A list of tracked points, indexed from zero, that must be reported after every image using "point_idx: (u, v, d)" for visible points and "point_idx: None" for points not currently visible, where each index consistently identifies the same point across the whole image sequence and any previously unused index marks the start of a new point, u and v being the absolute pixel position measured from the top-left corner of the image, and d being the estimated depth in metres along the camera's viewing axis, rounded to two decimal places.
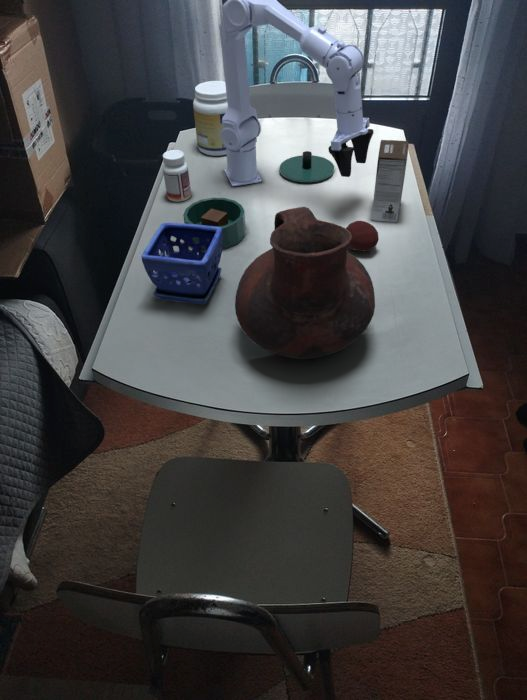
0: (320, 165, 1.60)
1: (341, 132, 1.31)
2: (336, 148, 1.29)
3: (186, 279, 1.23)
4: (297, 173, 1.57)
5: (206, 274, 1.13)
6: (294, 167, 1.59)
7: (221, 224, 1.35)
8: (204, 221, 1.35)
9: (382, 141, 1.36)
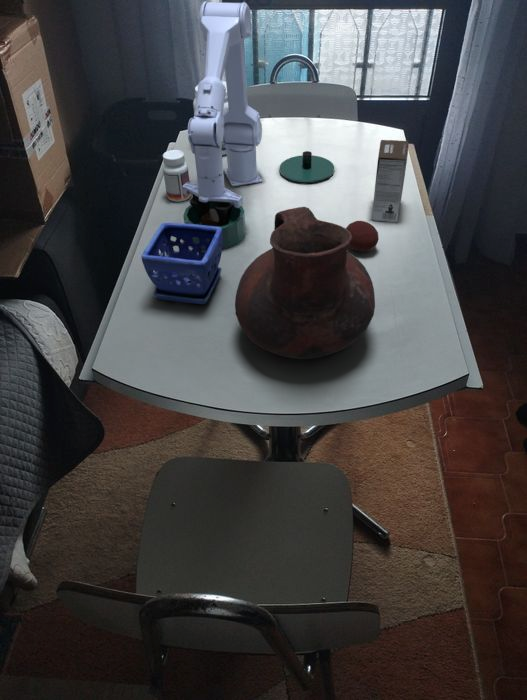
0: (320, 165, 1.60)
1: None
2: None
3: (186, 279, 1.23)
4: (297, 173, 1.57)
5: (206, 274, 1.13)
6: (294, 167, 1.59)
7: None
8: (204, 221, 1.35)
9: (382, 141, 1.36)
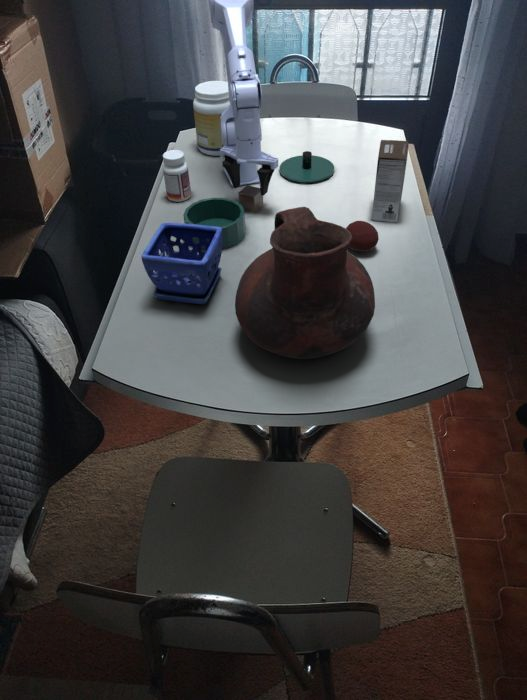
0: (320, 165, 1.60)
1: None
2: None
3: (186, 279, 1.23)
4: (297, 173, 1.57)
5: (206, 274, 1.13)
6: (294, 167, 1.59)
7: (257, 199, 1.44)
8: (241, 196, 1.44)
9: (382, 141, 1.36)
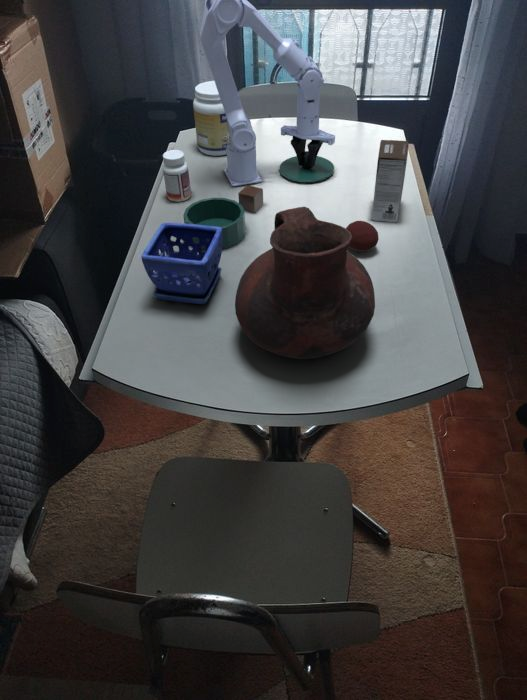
0: (320, 165, 1.60)
1: (316, 133, 1.51)
2: (333, 141, 1.51)
3: (186, 279, 1.23)
4: (297, 173, 1.57)
5: (206, 274, 1.13)
6: (294, 167, 1.59)
7: (257, 199, 1.44)
8: (241, 196, 1.44)
9: (382, 141, 1.36)
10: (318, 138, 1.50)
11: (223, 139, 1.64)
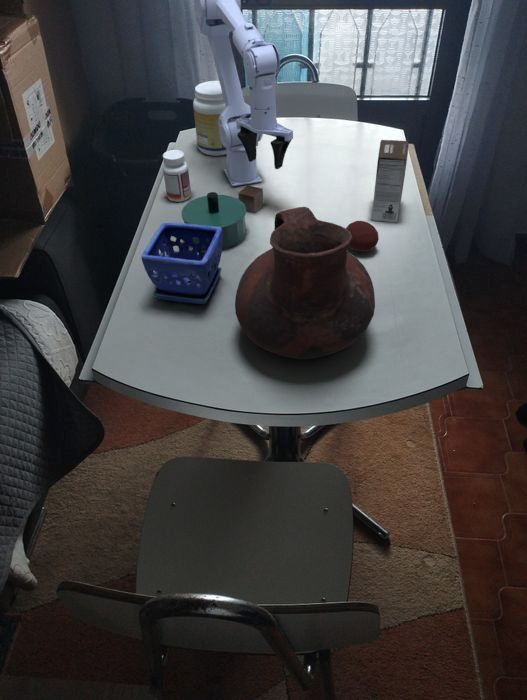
0: (228, 214, 1.33)
1: (271, 127, 1.33)
2: (291, 137, 1.33)
3: (186, 279, 1.23)
4: (195, 212, 1.34)
5: (206, 274, 1.13)
6: (204, 205, 1.37)
7: (257, 199, 1.44)
8: (241, 196, 1.44)
9: (382, 141, 1.36)
10: (273, 133, 1.33)
11: None
